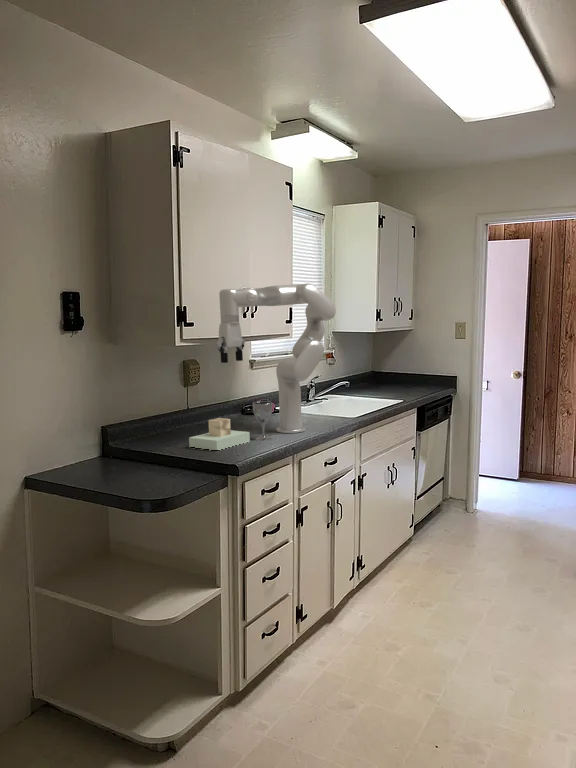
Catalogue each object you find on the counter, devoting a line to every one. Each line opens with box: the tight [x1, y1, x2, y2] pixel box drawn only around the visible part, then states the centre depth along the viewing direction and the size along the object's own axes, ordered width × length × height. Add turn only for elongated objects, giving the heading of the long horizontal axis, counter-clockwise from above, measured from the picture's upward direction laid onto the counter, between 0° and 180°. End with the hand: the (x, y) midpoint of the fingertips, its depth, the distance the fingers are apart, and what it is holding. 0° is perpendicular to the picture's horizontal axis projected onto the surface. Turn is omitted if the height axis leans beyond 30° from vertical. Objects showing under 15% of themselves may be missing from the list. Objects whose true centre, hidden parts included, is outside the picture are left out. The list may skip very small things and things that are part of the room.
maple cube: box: [207, 417, 232, 437], centre depth 245 cm, size 6×6×6 cm
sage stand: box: [188, 429, 251, 451], centre depth 246 cm, size 20×14×4 cm
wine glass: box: [252, 400, 273, 441], centre depth 255 cm, size 8×8×15 cm
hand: (232, 361), depth 256 cm, fingers open, 9 cm apart
